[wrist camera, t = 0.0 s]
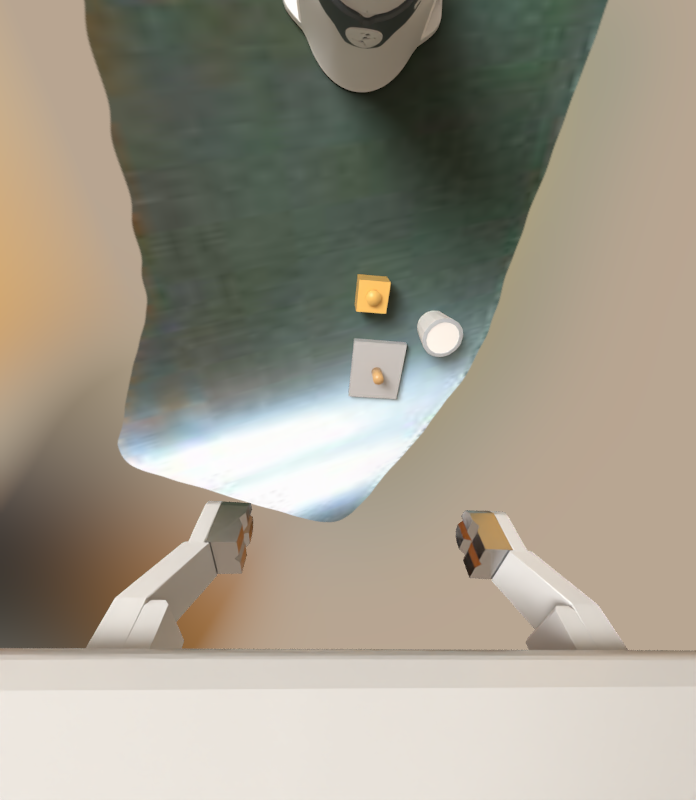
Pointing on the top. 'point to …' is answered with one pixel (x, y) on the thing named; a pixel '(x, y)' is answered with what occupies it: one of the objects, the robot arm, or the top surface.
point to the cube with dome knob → (372, 293)
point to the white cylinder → (439, 333)
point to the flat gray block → (376, 368)
